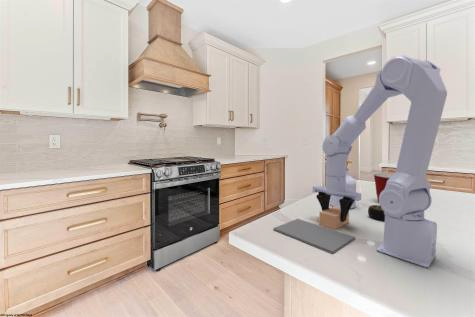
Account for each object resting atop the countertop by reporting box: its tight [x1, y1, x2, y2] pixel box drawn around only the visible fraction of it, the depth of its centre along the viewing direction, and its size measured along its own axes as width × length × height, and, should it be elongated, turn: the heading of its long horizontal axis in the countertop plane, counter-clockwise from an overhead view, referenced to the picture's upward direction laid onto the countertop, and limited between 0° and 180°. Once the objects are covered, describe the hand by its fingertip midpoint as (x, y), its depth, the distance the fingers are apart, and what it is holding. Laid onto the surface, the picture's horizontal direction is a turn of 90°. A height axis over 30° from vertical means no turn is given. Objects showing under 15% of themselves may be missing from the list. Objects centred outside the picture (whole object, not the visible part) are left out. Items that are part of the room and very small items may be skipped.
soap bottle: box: [329, 160, 357, 210], centre depth 88 cm, size 9×9×25 cm
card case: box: [318, 206, 350, 231], centre depth 70 cm, size 5×9×4 cm, turn 130°
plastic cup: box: [372, 172, 394, 203], centre depth 92 cm, size 11×11×12 cm
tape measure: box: [367, 204, 385, 221], centre depth 75 cm, size 7×7×4 cm
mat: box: [272, 218, 356, 255], centre depth 62 cm, size 18×12×1 cm, turn 40°
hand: (334, 218), depth 70 cm, fingers closed on card case, 5 cm apart
